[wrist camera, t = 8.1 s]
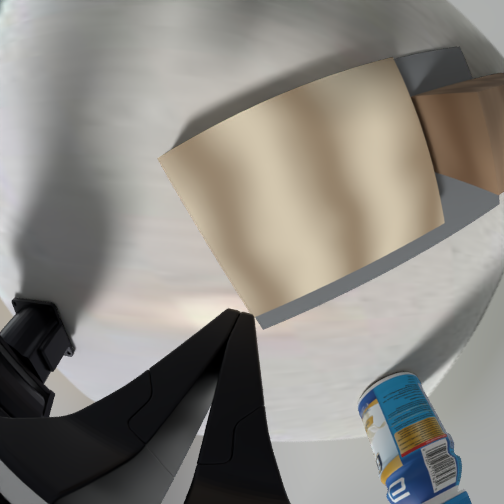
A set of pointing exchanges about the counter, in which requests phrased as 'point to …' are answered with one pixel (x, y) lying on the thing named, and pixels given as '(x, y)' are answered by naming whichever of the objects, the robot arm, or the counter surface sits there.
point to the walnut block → (466, 130)
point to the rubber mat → (450, 190)
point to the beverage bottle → (410, 443)
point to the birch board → (310, 184)
